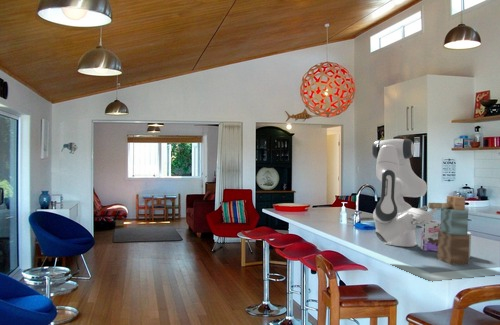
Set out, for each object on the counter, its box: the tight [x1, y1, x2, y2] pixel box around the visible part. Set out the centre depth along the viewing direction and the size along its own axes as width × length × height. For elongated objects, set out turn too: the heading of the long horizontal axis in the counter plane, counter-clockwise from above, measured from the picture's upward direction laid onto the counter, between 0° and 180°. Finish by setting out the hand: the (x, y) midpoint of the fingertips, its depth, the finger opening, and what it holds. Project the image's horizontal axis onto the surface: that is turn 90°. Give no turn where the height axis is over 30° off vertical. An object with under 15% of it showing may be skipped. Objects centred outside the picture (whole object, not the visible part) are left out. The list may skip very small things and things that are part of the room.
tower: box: [436, 209, 470, 265], centre depth 238 cm, size 13×9×26 cm
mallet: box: [427, 195, 466, 210], centre depth 237 cm, size 8×16×6 cm, turn 96°
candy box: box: [420, 219, 441, 252], centre depth 264 cm, size 14×6×16 cm, turn 82°
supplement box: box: [467, 231, 472, 259], centre depth 251 cm, size 7×7×13 cm
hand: (431, 208), depth 236 cm, fingers open, 8 cm apart
